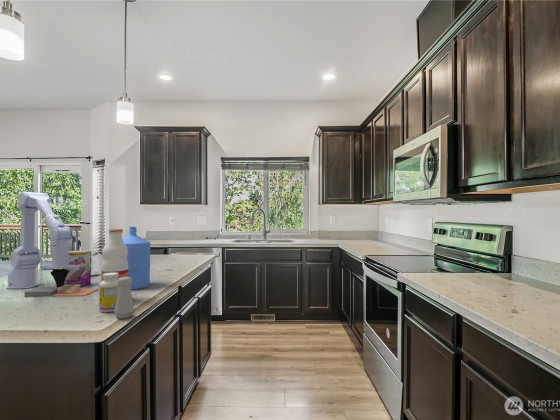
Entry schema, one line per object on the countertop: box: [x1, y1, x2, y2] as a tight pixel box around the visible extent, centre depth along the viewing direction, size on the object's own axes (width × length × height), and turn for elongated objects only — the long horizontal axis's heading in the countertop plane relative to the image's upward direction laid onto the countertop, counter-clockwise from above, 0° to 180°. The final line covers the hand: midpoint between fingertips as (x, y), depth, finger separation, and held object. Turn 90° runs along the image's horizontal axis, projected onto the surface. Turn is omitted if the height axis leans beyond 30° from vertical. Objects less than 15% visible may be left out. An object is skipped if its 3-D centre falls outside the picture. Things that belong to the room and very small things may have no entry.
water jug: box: [122, 226, 151, 291], centre depth 145 cm, size 16×16×28 cm
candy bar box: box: [61, 250, 93, 288], centre depth 145 cm, size 11×5×16 cm, turn 130°
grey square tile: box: [24, 285, 64, 298], centre depth 132 cm, size 10×11×2 cm
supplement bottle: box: [98, 273, 120, 313], centre depth 110 cm, size 7×7×13 cm
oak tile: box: [57, 285, 81, 294], centre depth 132 cm, size 6×6×2 cm
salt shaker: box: [114, 277, 135, 320], centre depth 102 cm, size 6×6×13 cm
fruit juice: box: [100, 228, 128, 283], centre depth 122 cm, size 9×9×28 cm
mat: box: [51, 288, 99, 297], centre depth 133 cm, size 13×11×1 cm
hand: (59, 287), depth 132 cm, fingers closed
